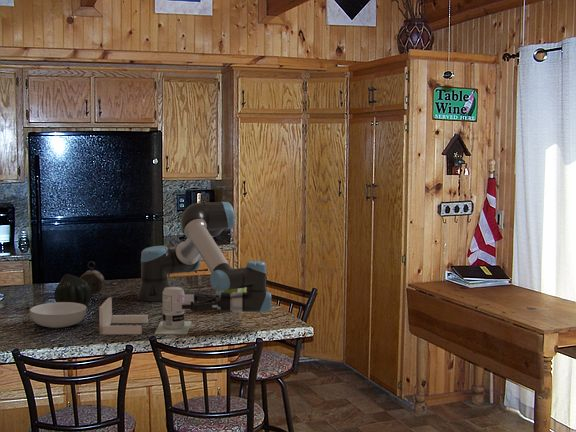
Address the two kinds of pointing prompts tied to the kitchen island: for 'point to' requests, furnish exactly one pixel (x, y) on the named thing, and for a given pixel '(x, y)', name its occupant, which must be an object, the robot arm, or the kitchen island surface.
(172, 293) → the supplement can
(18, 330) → the kitchen island surface
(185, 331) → the sage mat
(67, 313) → the serving bowl
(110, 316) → the open box
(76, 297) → the squash
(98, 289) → the alarm clock
